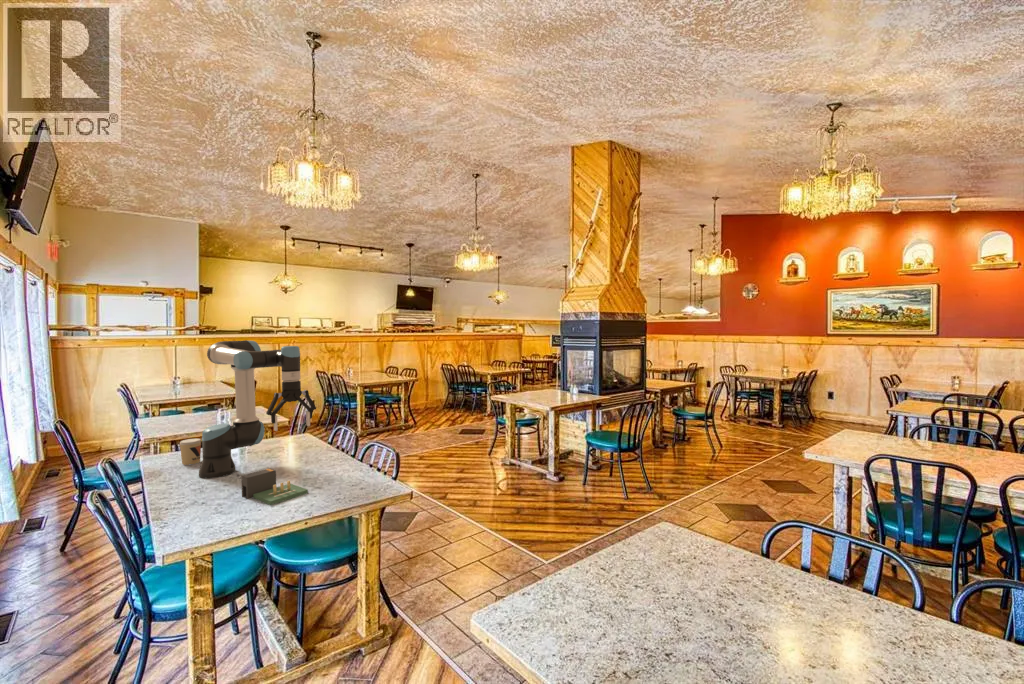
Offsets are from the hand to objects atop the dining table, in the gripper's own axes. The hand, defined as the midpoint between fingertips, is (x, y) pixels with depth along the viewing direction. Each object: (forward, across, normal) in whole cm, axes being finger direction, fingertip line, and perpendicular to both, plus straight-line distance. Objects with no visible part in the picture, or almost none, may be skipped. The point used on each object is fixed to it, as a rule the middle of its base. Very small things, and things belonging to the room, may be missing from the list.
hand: (292, 428), depth 203 cm
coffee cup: (+26, -29, +75) cm, 85 cm away
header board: (+26, -8, -8) cm, 28 cm away
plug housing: (+26, -14, +1) cm, 30 cm away
